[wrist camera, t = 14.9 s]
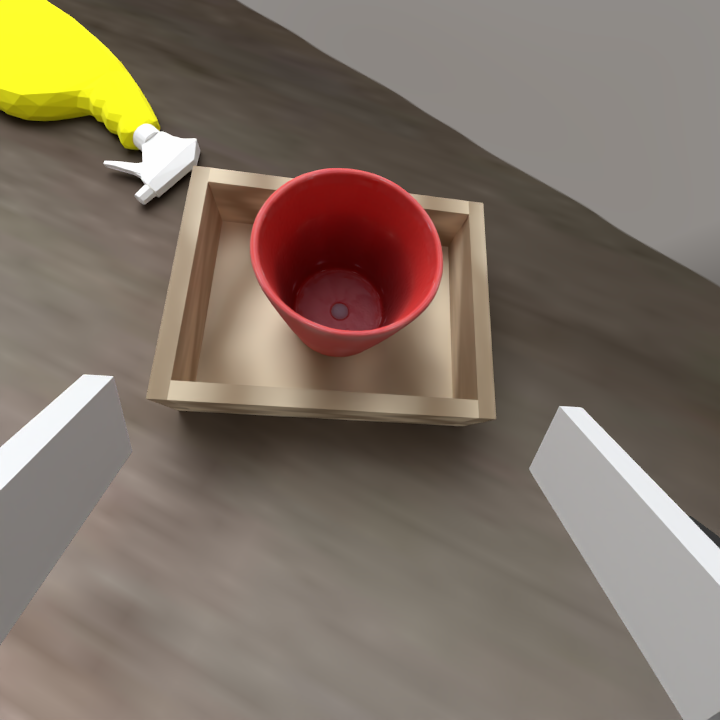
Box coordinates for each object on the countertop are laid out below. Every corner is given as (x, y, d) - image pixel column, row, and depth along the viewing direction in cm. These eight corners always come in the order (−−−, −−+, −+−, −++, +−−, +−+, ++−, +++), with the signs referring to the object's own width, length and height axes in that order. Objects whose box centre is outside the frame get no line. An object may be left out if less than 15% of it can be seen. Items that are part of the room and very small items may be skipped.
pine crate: (456, 242, 34) (482, 203, 29) (462, 426, 29) (496, 419, 24) (212, 214, 31) (193, 165, 26) (178, 410, 27) (145, 398, 22)
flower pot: (360, 404, 28) (385, 376, 18) (241, 327, 28) (207, 262, 19) (425, 300, 31) (475, 231, 21) (318, 232, 31) (321, 135, 22)
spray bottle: (37, 4, 35) (229, 152, 34) (-68, 60, 32) (139, 226, 31) (14, -36, 33) (222, 125, 31) (-104, 22, 29) (122, 203, 28)
